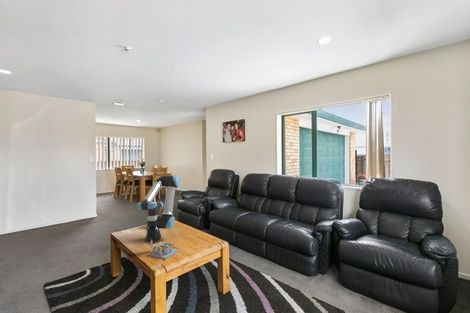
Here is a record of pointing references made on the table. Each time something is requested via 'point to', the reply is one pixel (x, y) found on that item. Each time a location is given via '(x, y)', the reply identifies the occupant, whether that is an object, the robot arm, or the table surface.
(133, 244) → the table surface
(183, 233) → the table surface
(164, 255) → the boss board
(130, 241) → the table surface
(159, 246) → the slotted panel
